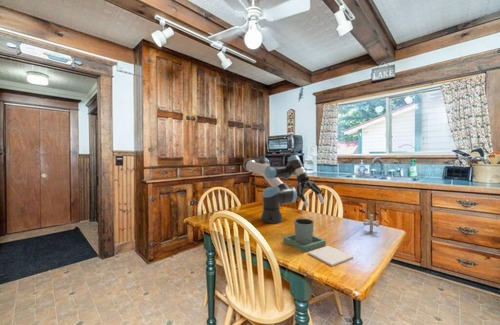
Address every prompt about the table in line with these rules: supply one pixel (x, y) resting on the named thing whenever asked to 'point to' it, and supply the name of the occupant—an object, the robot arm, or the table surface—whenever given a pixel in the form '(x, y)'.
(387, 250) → the table surface
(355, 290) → the table surface
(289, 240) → the square holder
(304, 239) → the grey-green cup
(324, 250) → the ceramic tile
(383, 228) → the table surface
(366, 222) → the pipe connector
